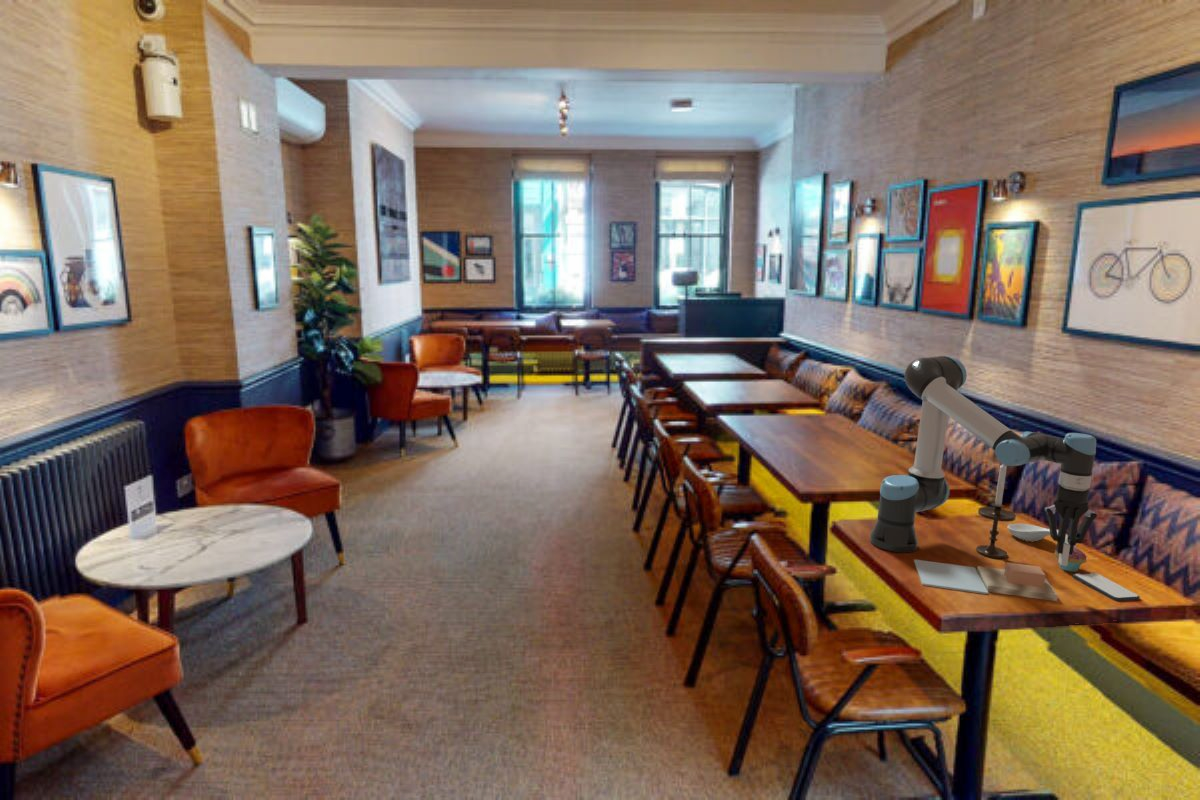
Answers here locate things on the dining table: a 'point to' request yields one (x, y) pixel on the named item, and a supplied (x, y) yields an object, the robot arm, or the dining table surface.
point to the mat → (950, 576)
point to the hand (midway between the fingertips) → (1062, 563)
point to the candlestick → (995, 519)
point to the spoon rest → (1030, 532)
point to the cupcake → (1073, 560)
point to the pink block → (1024, 574)
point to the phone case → (1106, 586)
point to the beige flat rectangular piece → (1013, 585)
